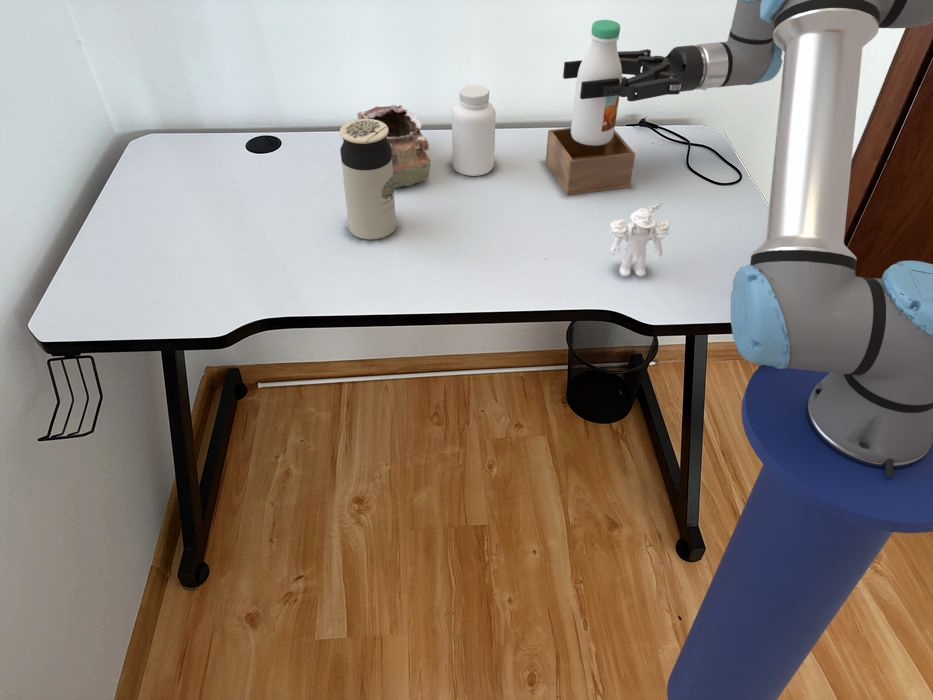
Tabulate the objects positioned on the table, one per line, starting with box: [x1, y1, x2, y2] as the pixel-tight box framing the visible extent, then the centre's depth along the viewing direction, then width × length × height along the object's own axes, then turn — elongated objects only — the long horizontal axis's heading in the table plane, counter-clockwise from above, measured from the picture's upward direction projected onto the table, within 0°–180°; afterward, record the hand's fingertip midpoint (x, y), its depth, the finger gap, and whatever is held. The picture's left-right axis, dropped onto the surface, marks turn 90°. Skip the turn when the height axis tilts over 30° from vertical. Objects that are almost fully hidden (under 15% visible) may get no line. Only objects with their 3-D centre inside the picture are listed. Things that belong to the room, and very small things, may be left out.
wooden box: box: [545, 127, 636, 196], centre depth 140 cm, size 12×12×7 cm
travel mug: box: [339, 118, 397, 240], centre depth 123 cm, size 8×8×18 cm
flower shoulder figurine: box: [609, 202, 670, 277], centre depth 117 cm, size 9×4×12 cm, turn 89°
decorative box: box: [356, 104, 431, 189], centre depth 141 cm, size 13×20×10 cm, turn 16°
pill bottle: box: [451, 84, 497, 177], centre depth 139 cm, size 8×8×15 cm
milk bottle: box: [570, 19, 623, 146], centre depth 131 cm, size 8×8×20 cm
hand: (573, 80), depth 129 cm, fingers closed on milk bottle, 8 cm apart
